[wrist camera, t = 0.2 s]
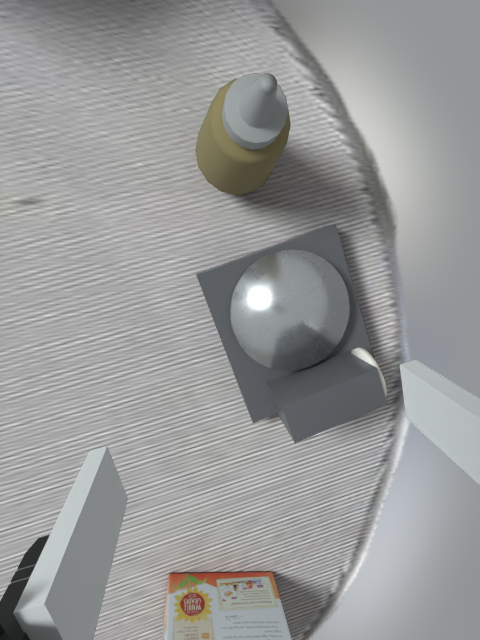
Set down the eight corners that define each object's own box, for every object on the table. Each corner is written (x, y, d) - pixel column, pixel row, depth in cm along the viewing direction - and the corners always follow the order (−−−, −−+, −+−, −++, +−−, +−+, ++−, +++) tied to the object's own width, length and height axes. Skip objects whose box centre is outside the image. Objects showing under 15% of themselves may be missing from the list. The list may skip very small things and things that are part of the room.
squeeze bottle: (250, 212, 41) (299, 176, 23) (183, 181, 39) (180, 116, 22) (279, 143, 40) (352, 52, 22) (211, 108, 38) (232, -20, 21)
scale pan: (212, 275, 38) (212, 275, 37) (326, 232, 39) (329, 231, 38) (253, 385, 40) (255, 388, 39) (359, 343, 41) (363, 345, 40)
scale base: (196, 274, 41) (199, 278, 31) (325, 226, 42) (366, 216, 32) (251, 419, 45) (269, 463, 35) (368, 371, 46) (417, 401, 36)
